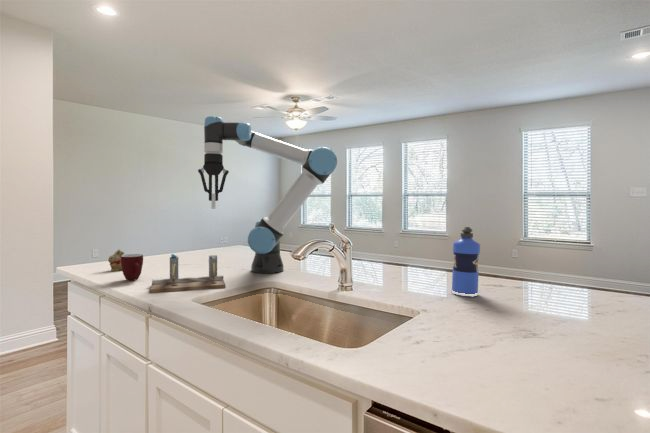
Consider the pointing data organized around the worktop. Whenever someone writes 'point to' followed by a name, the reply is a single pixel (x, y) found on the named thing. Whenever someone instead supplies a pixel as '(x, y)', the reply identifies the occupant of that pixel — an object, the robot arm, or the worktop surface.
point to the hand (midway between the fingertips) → (213, 208)
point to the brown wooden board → (187, 284)
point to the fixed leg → (213, 266)
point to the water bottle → (465, 263)
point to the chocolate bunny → (116, 261)
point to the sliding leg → (173, 267)
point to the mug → (132, 266)
